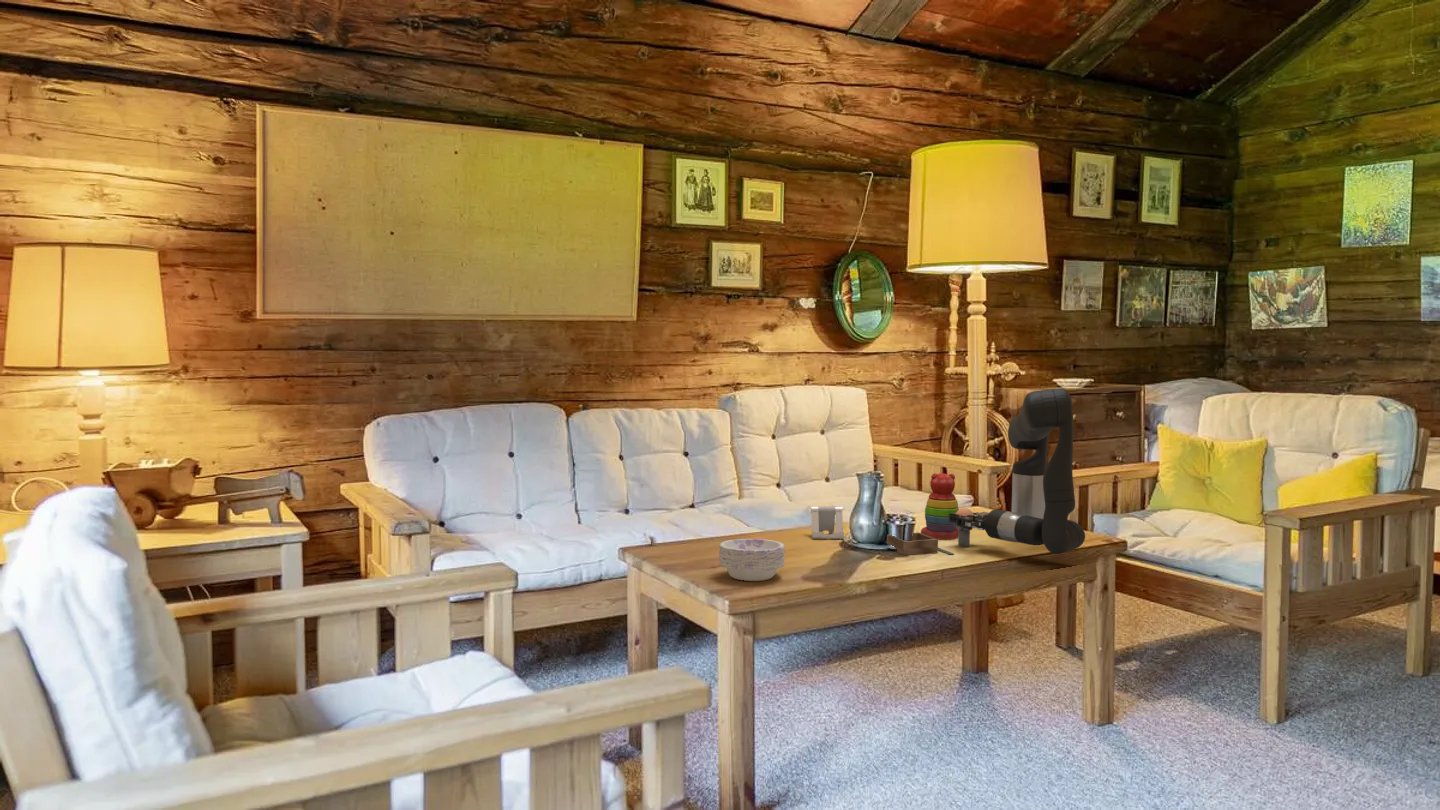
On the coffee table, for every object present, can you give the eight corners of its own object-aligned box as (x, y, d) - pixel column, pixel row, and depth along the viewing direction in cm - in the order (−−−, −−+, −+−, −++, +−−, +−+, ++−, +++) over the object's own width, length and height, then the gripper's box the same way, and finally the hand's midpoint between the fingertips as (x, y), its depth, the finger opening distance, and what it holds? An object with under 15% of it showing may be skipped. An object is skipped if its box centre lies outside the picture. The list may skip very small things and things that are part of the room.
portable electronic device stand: (812, 540, 279) (812, 509, 278) (810, 534, 287) (810, 504, 286) (843, 540, 279) (844, 510, 278) (840, 534, 286) (841, 505, 286)
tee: (966, 543, 274) (966, 524, 274) (973, 546, 270) (974, 526, 270) (953, 544, 273) (954, 524, 272) (961, 547, 269) (962, 527, 269)
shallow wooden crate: (918, 545, 272) (918, 532, 272) (937, 552, 263) (937, 539, 263) (886, 547, 269) (886, 534, 269) (904, 555, 260) (905, 541, 260)
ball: (967, 524, 274) (967, 506, 274) (977, 527, 270) (978, 509, 269) (951, 525, 273) (951, 507, 272) (961, 529, 268) (961, 510, 268)
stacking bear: (958, 533, 289) (959, 471, 287) (963, 540, 279) (964, 476, 277) (920, 532, 290) (921, 470, 288) (923, 539, 280) (924, 475, 278)
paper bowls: (763, 566, 247) (763, 534, 247) (796, 580, 234) (797, 546, 233) (707, 573, 240) (707, 540, 239) (739, 588, 227) (739, 553, 226)
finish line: (921, 542, 276) (921, 541, 276) (953, 554, 261) (953, 553, 261) (917, 542, 275) (917, 541, 275) (949, 555, 260) (949, 553, 260)
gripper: (1026, 508, 263) (974, 499, 277) (990, 514, 255) (938, 504, 269) (1025, 537, 264) (973, 526, 278) (989, 544, 255) (938, 532, 269)
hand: (956, 516), depth 273 cm, fingers closed on ball, 5 cm apart
